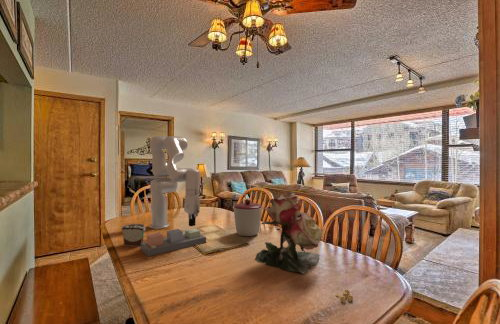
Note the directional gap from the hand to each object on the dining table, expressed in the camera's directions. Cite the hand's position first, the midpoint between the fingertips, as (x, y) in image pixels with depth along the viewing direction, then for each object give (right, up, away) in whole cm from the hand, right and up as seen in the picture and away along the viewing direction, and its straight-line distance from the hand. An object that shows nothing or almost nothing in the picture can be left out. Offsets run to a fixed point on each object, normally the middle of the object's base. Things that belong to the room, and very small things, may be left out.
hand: (192, 225), depth 131 cm
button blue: (-7, -6, -7) cm, 12 cm away
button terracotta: (-15, -6, -13) cm, 21 cm away
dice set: (+63, -10, -53) cm, 83 cm away
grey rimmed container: (-29, -9, -4) cm, 30 cm away
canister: (+30, -9, +14) cm, 34 cm away
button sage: (0, -8, 0) cm, 8 cm away
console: (-7, -9, -7) cm, 13 cm away
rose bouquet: (+51, -9, -22) cm, 56 cm away
